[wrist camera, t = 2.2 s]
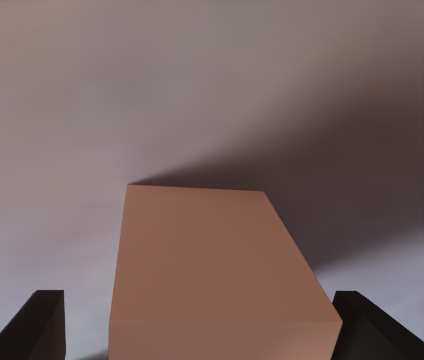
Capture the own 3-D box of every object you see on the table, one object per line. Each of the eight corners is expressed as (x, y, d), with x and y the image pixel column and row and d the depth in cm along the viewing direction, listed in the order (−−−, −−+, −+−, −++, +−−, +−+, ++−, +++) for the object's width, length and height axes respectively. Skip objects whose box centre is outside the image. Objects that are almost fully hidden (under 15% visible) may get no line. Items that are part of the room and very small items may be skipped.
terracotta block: (243, 297, 15) (295, 464, 9) (122, 296, 14) (105, 480, 9) (263, 190, 13) (342, 321, 8) (127, 184, 12) (108, 324, 7)
